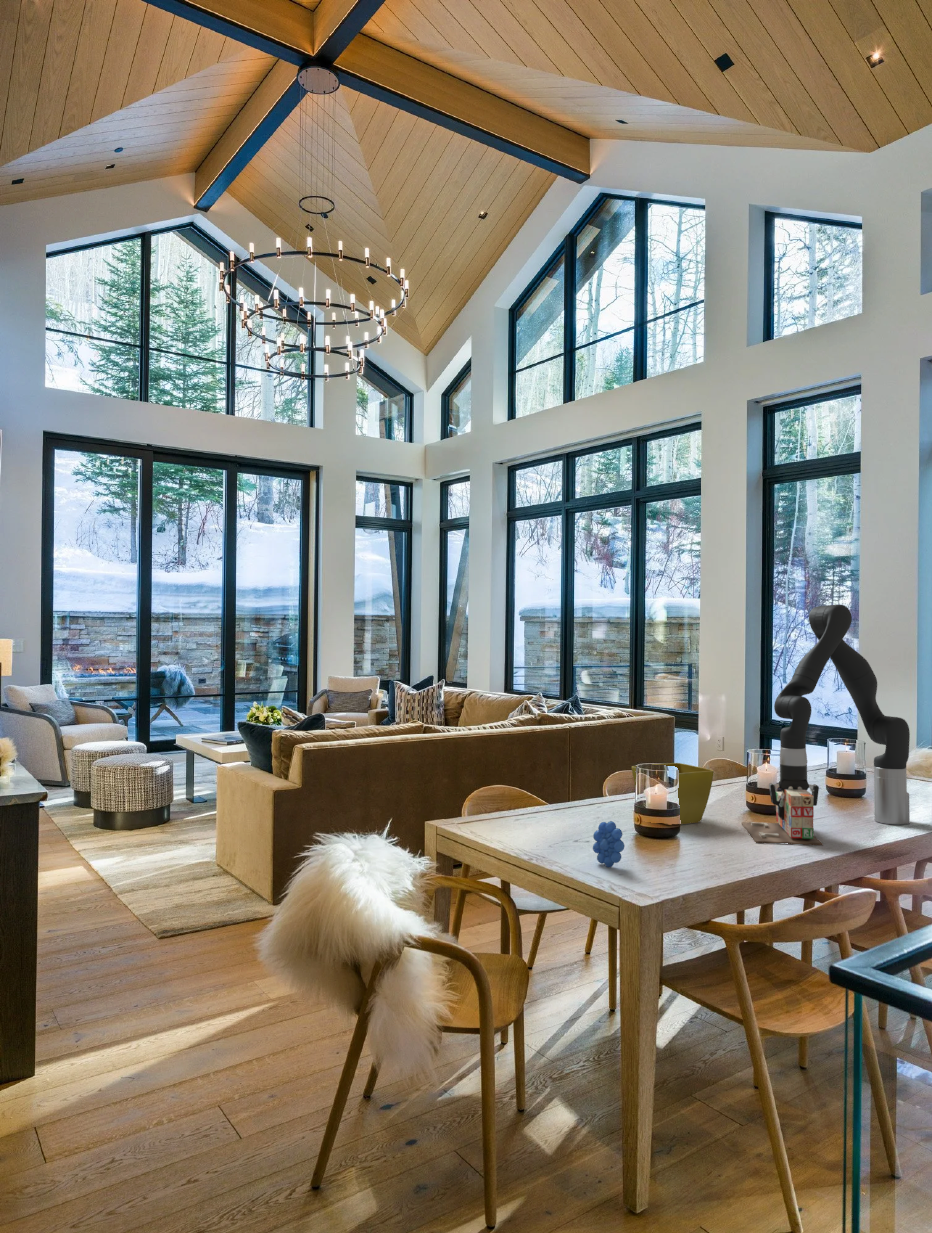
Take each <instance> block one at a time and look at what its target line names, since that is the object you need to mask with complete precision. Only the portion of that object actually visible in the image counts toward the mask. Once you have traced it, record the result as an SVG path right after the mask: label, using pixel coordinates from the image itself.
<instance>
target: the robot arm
mask: <svg viewBox="0 0 932 1233" xmlns="http://www.w3.org/2000/svg"><path fill="white" fill-rule="evenodd" d="M851 612H852V611H850V609H849V608H848V607H847V606H846V605H844V604H828V605H827V604H826V605H820V606H819V605H818V606H815V607H812V608H811V610H810V611H809V613H808V614H809V615H808V622H809V626H810V629H811V631H813V633H814V635H815V637H816V639H817V640H818V641H817V642H816V644H815V645H814V646H812V648H811V649H810V650H808V652H807V653H806V654H805V655H803V657H802V658H801V660H800V661H799V662H798V664H797V665H796V666H797V667H796V669H795V671H794V673H793V675H792V677H791V680H790V681H789V682H788V683H787V684H786V685H785V686H784V688H783V689H782V691H780V692H779V693H778V695H777V697H776V699H775V701H774V707H773V708H774V713H775V714H776V716H777V717H778V718H782V719H787V720H791V724H790V726H786V727H783V728H781V730H780V734H779V735H780V748H779V749H780V751H779V781H778V783H769V784H768V788H769V794H770V795H769V796H770V802H771V803H772V804H773V805H774V806H776V805H777V806H778V816H779V817H780V818H781V820H784V807H783V805H784V800H785V794H784V796H783V795H782V794H781V796H780V799H779V801H777V799H776V792H778V789H779V788H780V790H781V792H782V791H783V792H784V789H787V790H793V789H795V790H806V791H808V789H809V792H810V793H811V795H812V796H814V802H813V807H814V806H817V805H818V799H819V792H820V787H819V786H818V785H817V784H816V783H815V784H814V783H813V784H810V783H808V756H807V743H806V742H807V740H806V739H807V738H806V737H807V736H806V735H807V731H808V727H809V724H810V720H811V717H812V710H813V709H812V705H811V702H810V700H809V699H808V698H806V697H805V695H806V696H807V695H809V694H810V695H811V694H812V693H813V692H814V690H815V689H816V686H817V684H818V682H819V680H820V677H821V676H822V673H823V671H824V669H825V667H826V665H827V663H828V662H829V660H831V662H832V663H833V665H834V667H835V669H836V670H837V672H838V675H839V677H840V678H841V680H842V683H843V684H844V686H845V688H846V689H847V691H848V693H849V695H850V697H851V699H852V702H853V703H854V705H855V707H856V709H857V711H858V712H859V713H858V714H859V715H860V716H859V717H860V718H861V721H862V723H863V726H864V729H865V731H866V733H867V736H868V737H869V739H870V740H872V742H873V743H876V744H878V745H883V746H885V751H884V752H883V753H882V754H881V755H877V756H875V757H874V758H873V792H874V793H873V796H874V798H873V799H874V800H873V801H874V804H873V805H874V806H873V808H874V812H873V816H874V822H877V823H882V824H887V825H908V824H910V823H911V822H910V821H911V820H910V819H911V818H910V816H911V814H910V793H909V792H908V791H907V790H908V788H907V787H908V786H907V785H908V783H907V780H908V778H907V763H908V760H909V757H910V740H911V739H910V738H911V737H910V735H911V733H910V732H911V731H910V727H909V726H910V725H909V724H908V721H906V720H905V719H904V718H902V717H898V716H890V715H885V714H884V713H883V712H882V710H881V709H880V707H879V704H878V702H877V691H878V679H877V677H876V675H875V673H874V671H873V668H872V667H871V665H870V663H869V662H868V660H867V659H866V658H865V657H864V656H863V655H861V654H860V653H859V652H858V651H857V650H855V649H854V648H853V647H851V646H850V645H849V644H848V643H847V642H846V641H845V640H844V637H846V635H847V633H848V631H849V630H850V628H851V625H852V621H853V620H852V619H853V617H852V613H851Z"/></svg>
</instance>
